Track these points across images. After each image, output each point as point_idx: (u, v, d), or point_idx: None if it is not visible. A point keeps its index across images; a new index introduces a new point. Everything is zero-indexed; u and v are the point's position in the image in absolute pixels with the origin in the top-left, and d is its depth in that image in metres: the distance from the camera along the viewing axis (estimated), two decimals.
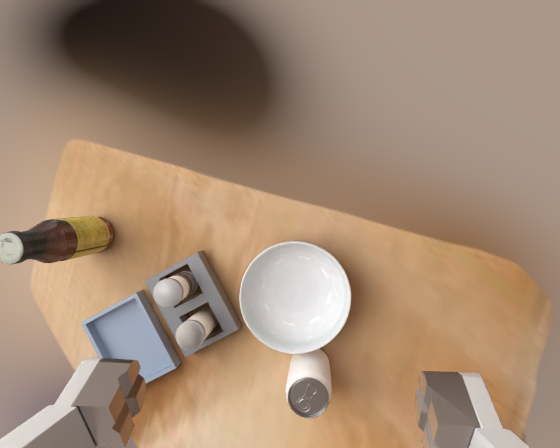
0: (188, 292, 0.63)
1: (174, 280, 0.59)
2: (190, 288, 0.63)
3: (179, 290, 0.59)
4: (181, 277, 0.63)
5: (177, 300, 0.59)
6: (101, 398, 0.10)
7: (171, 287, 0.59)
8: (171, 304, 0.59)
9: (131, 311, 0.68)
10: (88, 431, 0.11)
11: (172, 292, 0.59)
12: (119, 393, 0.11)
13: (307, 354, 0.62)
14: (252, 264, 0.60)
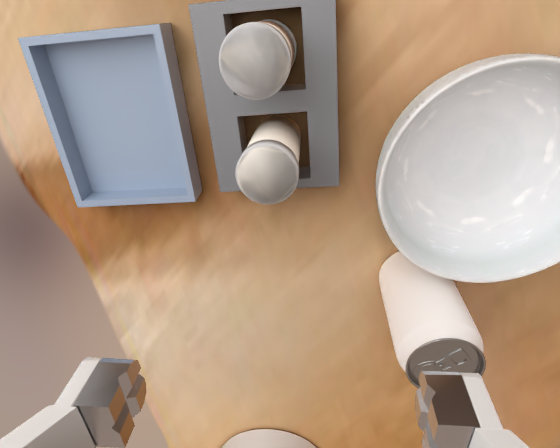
0: None
1: (282, 37, 0.23)
2: None
3: (287, 69, 0.23)
4: (284, 34, 0.26)
5: (272, 90, 0.24)
6: (101, 398, 0.10)
7: (271, 53, 0.23)
8: (254, 93, 0.24)
9: (134, 60, 0.32)
10: (88, 431, 0.11)
11: (268, 65, 0.23)
12: (119, 393, 0.11)
13: None
14: (465, 78, 0.25)
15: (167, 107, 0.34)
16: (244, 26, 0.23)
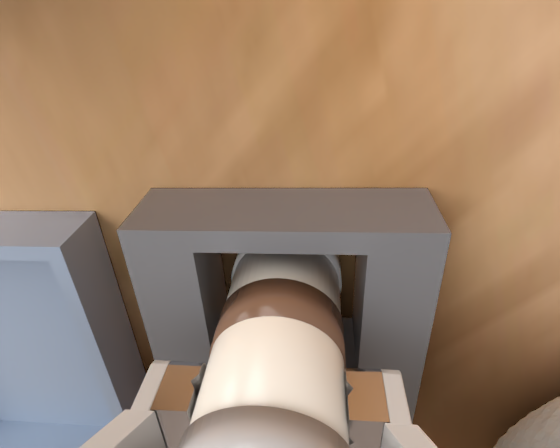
0: None
1: None
2: None
3: None
4: (329, 339, 0.11)
5: None
6: (178, 402, 0.10)
7: None
8: None
9: (28, 266, 0.17)
10: (162, 436, 0.10)
11: None
12: (193, 397, 0.10)
13: None
14: None
15: None
16: None
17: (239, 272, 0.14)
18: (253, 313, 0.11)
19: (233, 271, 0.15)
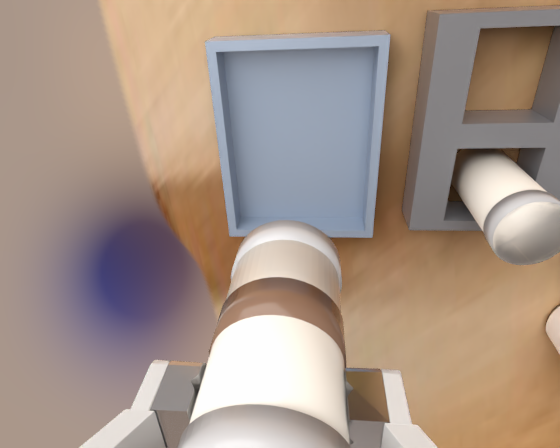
0: None
1: None
2: None
3: None
4: (330, 338, 0.11)
5: None
6: (178, 402, 0.10)
7: None
8: None
9: (330, 72, 0.27)
10: (162, 436, 0.10)
11: None
12: (193, 397, 0.10)
13: None
14: None
15: (356, 128, 0.28)
16: None
17: (239, 271, 0.14)
18: (253, 312, 0.11)
19: (233, 270, 0.15)
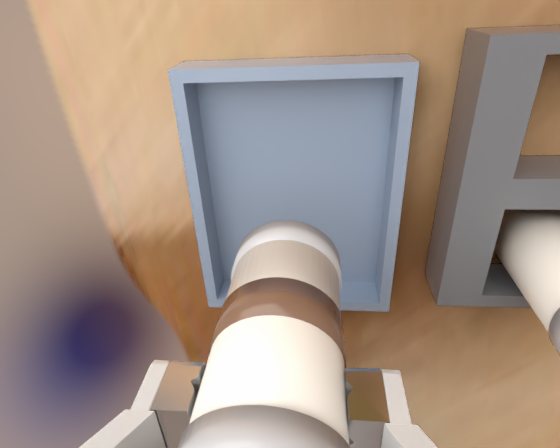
0: None
1: None
2: None
3: None
4: (329, 338, 0.11)
5: None
6: (178, 402, 0.10)
7: None
8: None
9: (336, 108, 0.20)
10: (162, 436, 0.10)
11: None
12: (193, 397, 0.10)
13: None
14: None
15: (369, 177, 0.22)
16: None
17: (239, 271, 0.14)
18: (253, 312, 0.11)
19: (233, 270, 0.15)
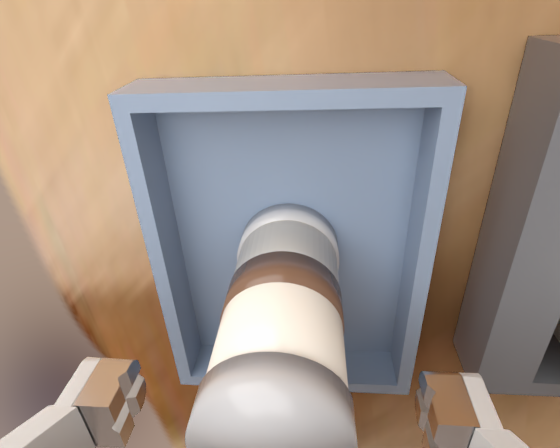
0: None
1: (342, 403, 0.10)
2: None
3: None
4: (330, 304, 0.12)
5: None
6: (101, 398, 0.10)
7: (313, 442, 0.09)
8: None
9: (344, 142, 0.15)
10: (88, 431, 0.11)
11: None
12: (119, 393, 0.11)
13: None
14: None
15: (386, 230, 0.17)
16: (251, 399, 0.09)
17: (245, 248, 0.15)
18: (261, 280, 0.12)
19: (239, 249, 0.16)
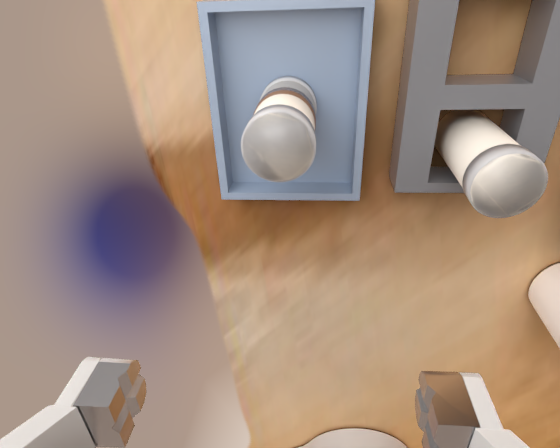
0: None
1: (309, 124, 0.22)
2: None
3: (311, 157, 0.23)
4: (308, 107, 0.25)
5: (294, 174, 0.23)
6: (101, 398, 0.10)
7: (296, 141, 0.22)
8: (275, 175, 0.23)
9: (318, 36, 0.27)
10: (88, 432, 0.11)
11: (292, 152, 0.22)
12: (119, 393, 0.11)
13: None
14: None
15: (344, 92, 0.29)
16: (271, 113, 0.21)
17: (264, 93, 0.28)
18: (273, 94, 0.25)
19: None
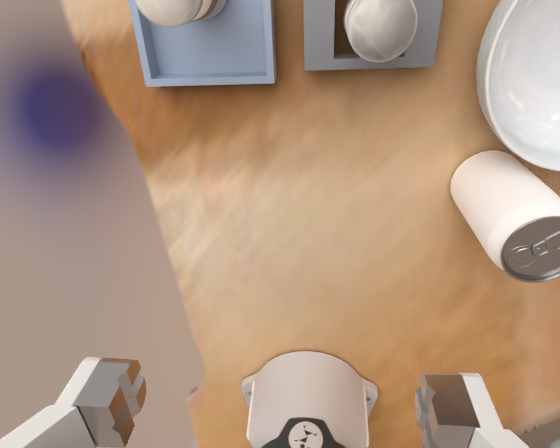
0: (205, 13, 0.28)
1: None
2: (212, 5, 0.28)
3: None
4: None
5: (183, 18, 0.25)
6: (101, 398, 0.10)
7: None
8: (166, 20, 0.25)
9: None
10: (88, 431, 0.11)
11: None
12: (119, 393, 0.11)
13: (526, 169, 0.33)
14: None
15: None
16: None
17: None
18: None
19: None
